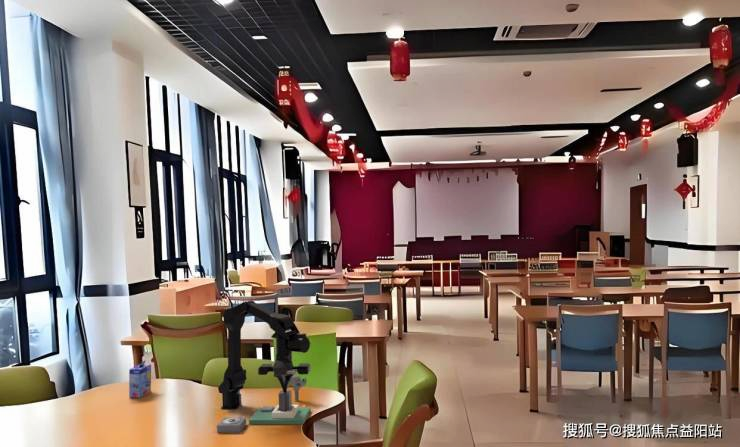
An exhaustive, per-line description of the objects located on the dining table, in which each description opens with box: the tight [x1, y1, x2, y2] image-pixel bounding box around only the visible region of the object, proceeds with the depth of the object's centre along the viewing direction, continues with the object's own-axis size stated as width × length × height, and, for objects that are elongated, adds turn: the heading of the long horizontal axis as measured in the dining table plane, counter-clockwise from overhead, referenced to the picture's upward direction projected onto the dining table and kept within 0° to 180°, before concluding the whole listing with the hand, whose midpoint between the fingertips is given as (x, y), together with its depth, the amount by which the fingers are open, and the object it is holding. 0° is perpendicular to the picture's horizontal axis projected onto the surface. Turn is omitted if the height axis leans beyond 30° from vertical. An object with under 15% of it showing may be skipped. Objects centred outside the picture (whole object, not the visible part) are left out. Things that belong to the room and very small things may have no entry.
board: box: [248, 404, 311, 425], centre depth 207 cm, size 20×14×4 cm
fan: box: [216, 416, 247, 434], centre depth 197 cm, size 8×8×3 cm
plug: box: [278, 389, 293, 412], centre depth 206 cm, size 4×5×8 cm
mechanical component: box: [288, 374, 307, 402], centre depth 227 cm, size 3×10×10 cm, turn 53°
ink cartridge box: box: [128, 359, 152, 398], centre depth 242 cm, size 10×6×14 cm, turn 175°
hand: (285, 392), depth 207 cm, fingers closed, pressing on plug
